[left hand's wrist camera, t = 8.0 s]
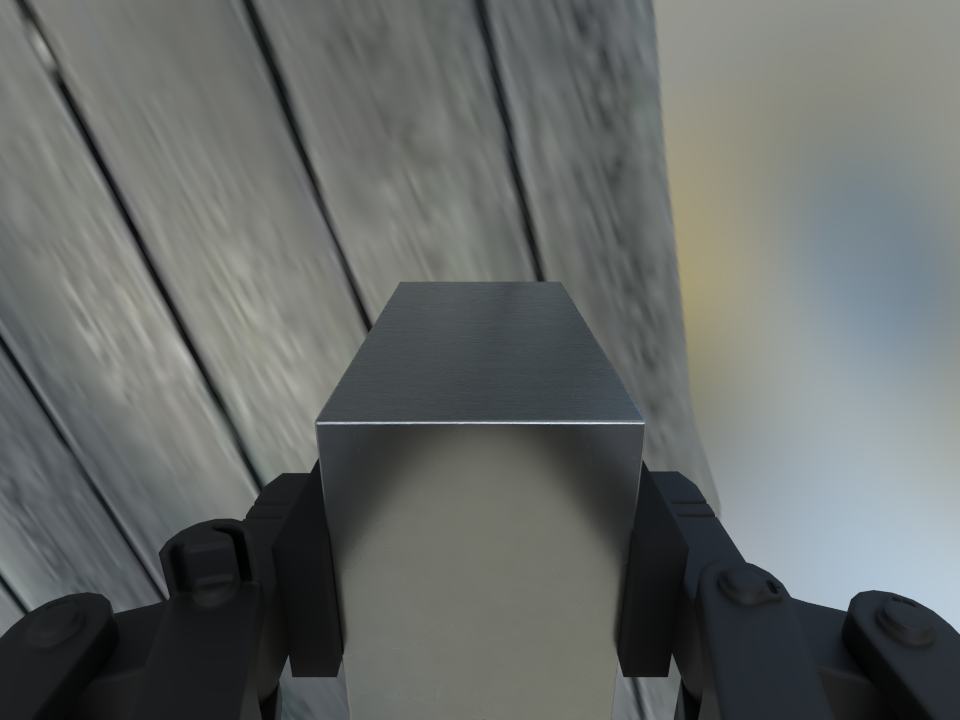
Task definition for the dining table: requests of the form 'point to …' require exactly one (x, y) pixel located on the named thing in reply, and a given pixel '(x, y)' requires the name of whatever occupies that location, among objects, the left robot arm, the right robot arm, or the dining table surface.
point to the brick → (480, 507)
